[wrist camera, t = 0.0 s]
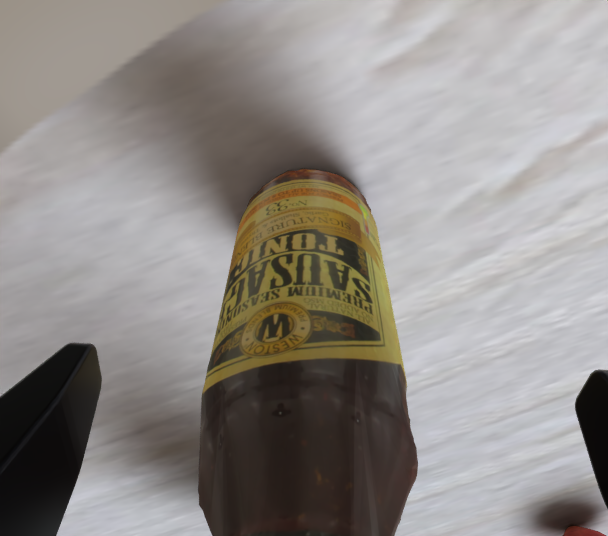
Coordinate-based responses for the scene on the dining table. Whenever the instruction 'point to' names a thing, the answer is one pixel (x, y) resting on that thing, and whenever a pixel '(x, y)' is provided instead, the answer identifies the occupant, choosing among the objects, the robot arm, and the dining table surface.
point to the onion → (581, 532)
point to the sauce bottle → (306, 373)
